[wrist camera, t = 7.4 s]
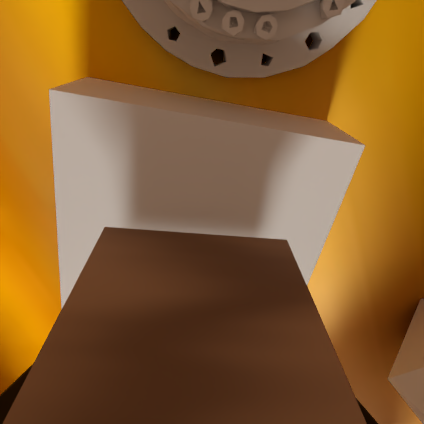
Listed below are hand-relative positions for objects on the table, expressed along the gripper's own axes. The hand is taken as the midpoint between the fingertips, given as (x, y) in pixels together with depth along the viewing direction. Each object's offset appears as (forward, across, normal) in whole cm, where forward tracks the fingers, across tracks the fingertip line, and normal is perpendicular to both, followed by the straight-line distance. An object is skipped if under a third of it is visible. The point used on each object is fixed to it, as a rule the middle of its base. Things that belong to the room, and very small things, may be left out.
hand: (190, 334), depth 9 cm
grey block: (+8, 0, 0) cm, 8 cm away
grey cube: (+1, 0, 0) cm, 1 cm away
